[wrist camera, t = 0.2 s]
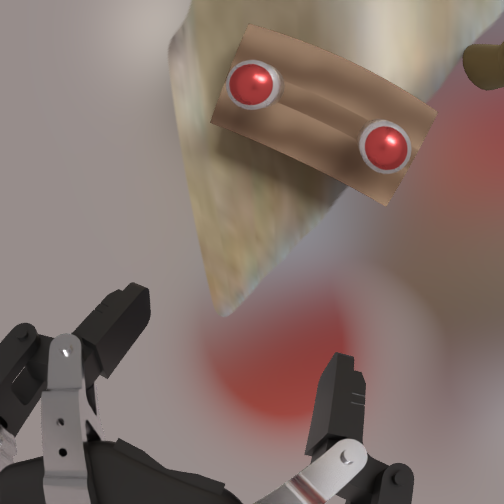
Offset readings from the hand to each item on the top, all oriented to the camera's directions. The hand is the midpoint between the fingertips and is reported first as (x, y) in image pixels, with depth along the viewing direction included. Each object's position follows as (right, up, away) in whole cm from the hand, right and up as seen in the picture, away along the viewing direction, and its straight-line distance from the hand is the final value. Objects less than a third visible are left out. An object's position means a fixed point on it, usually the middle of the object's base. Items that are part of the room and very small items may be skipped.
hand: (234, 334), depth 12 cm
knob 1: (+2, +20, +15) cm, 25 cm away
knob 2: (+13, +15, +15) cm, 25 cm away
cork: (+28, +25, +10) cm, 39 cm away
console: (+9, +20, +19) cm, 29 cm away
